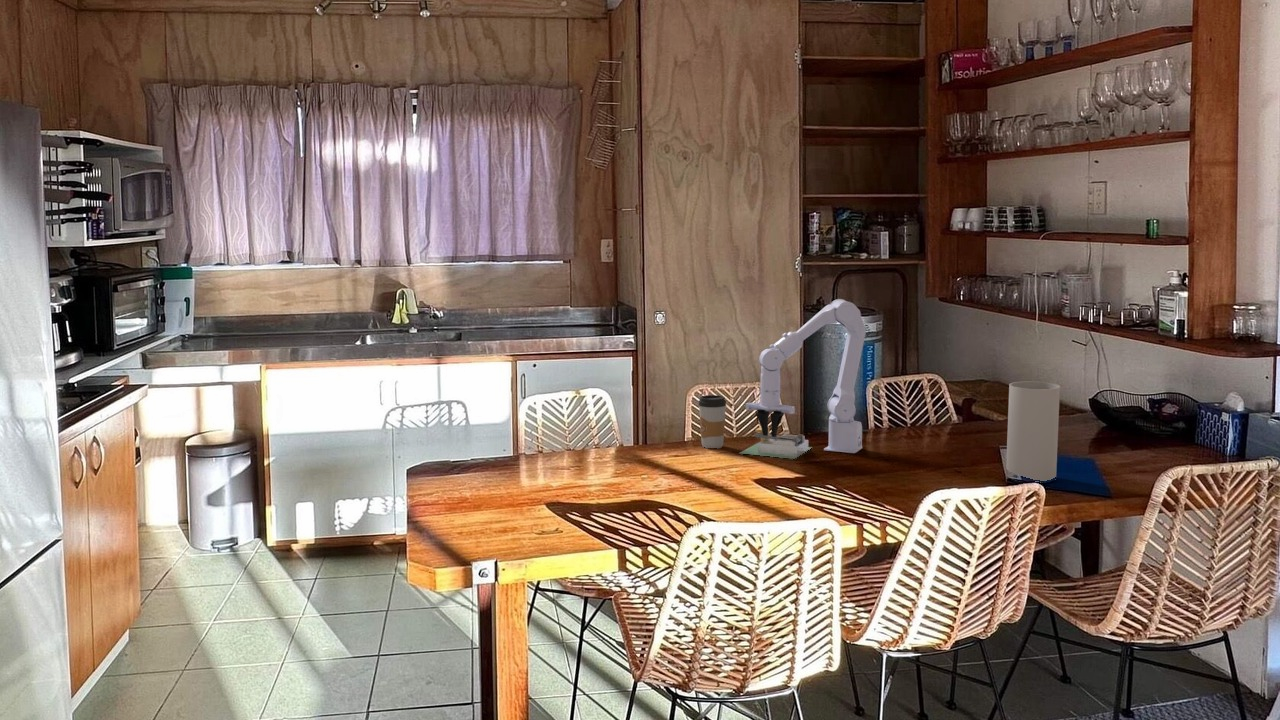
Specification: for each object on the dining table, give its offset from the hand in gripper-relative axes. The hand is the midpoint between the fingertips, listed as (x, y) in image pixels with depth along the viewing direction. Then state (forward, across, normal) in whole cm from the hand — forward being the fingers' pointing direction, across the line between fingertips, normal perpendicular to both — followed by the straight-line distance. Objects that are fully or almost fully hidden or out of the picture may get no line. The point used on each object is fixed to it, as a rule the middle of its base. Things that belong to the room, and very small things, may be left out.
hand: (769, 435), depth 340 cm
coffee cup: (+5, -18, -1) cm, 18 cm away
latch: (+4, -4, +4) cm, 7 cm away
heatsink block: (+4, +4, 0) cm, 6 cm away
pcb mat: (+5, +2, +1) cm, 5 cm away
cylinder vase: (+4, +74, -2) cm, 74 cm away
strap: (+1, +2, 0) cm, 3 cm away
